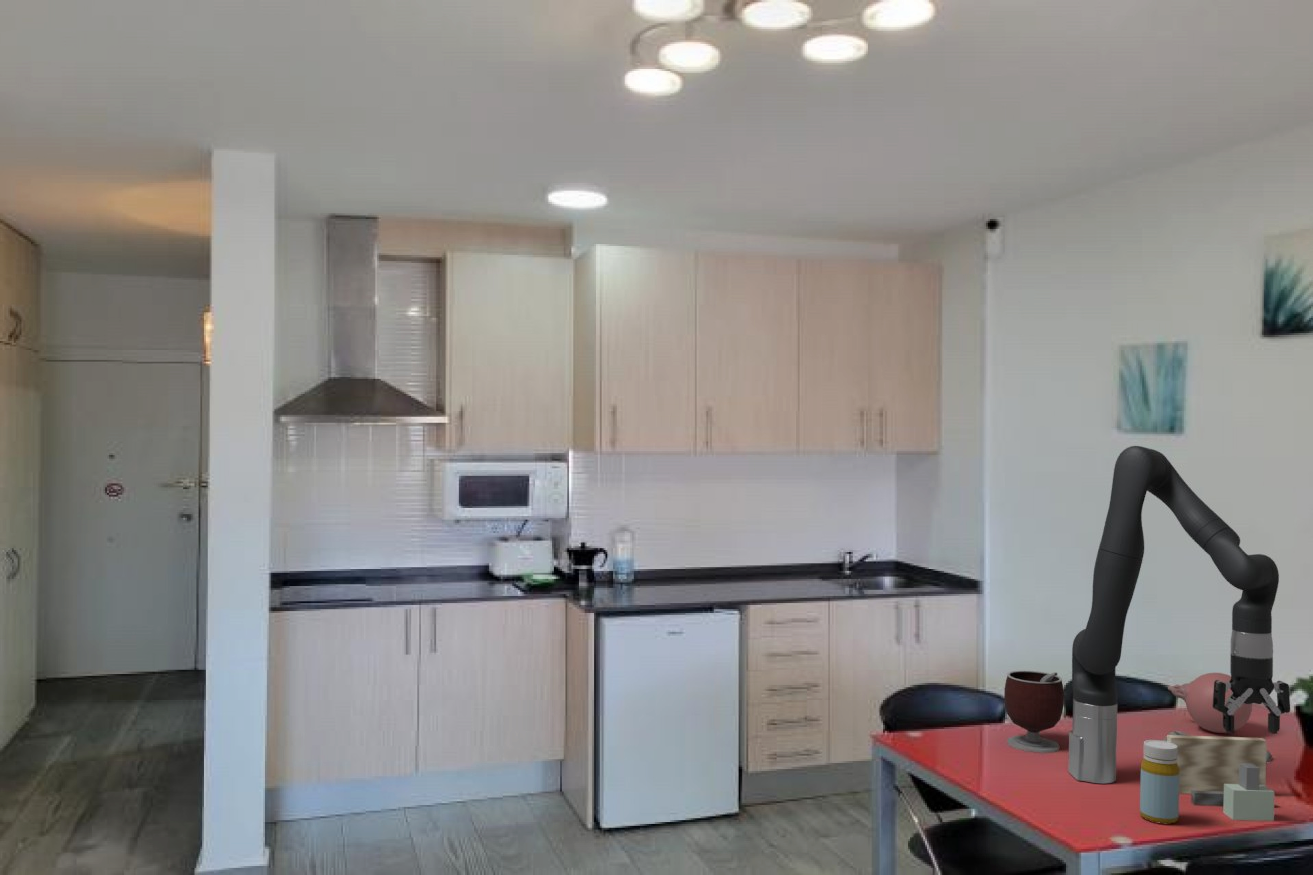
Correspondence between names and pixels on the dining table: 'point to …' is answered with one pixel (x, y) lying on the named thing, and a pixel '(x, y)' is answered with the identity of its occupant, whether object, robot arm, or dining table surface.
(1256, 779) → the cabinet block
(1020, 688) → the mate gourd
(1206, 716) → the balloon
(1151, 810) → the bottle
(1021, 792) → the dining table surface
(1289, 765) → the dining table surface
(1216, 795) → the wall board
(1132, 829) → the dining table surface
